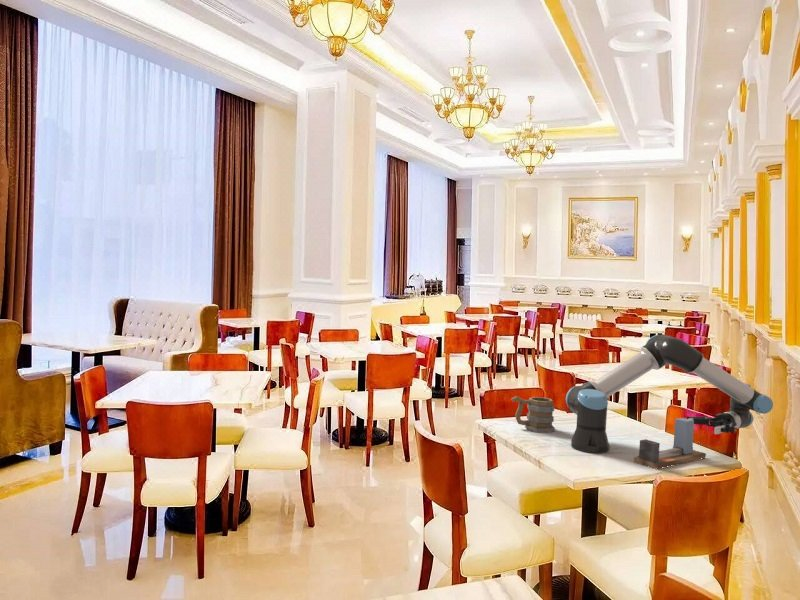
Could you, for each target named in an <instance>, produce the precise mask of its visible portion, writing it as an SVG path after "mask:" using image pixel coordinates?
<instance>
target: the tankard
mask: <svg viewBox="0 0 800 600" xmlns="http://www.w3.org/2000/svg"><path fill="white" fill-rule="evenodd" d="M510 399H511V401H512V403H515V402H518V407H517V409H516V412H515V421H516V422H517V424H518V425H522V426H524V428H525V429H526V431H530V432H533V433H538V434H539V433H542V434H543V433H544V434H549V433H553V432H555V429H556V427H555V426H554V425H553V423H554V420H555V417H554V416H553V412H555V406H554V400H553V399H552V398H549V397H543V396H542V397H541V396H531V397H529V399H523V398H521V397H519V396H518V395H516V396H514V397H512V398H510ZM524 404H525V405H527V409H528V412H527V413H526V419H525V420H522V419H521V414H522V412H523V410H524Z"/></svg>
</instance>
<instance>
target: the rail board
mask: <svg viewBox="0 0 800 600" xmlns="http://www.w3.org/2000/svg"><path fill="white" fill-rule="evenodd" d="M660 445H661V444H660V443H659V442H658V441H653V440H649V439H641V440H639V446H638V447H639V451H638V455H637V456H634V457H633V463H636V464H638V465H641V466H646V467H648V466H649V468H651V467H653V468H652V469H654V468H657V469H658V470H660V469H659V468H662V467H666V468H668V467H667V466H671V465H675V466H678V465H677V464H679V465H683V463H684V464H687V462H688V463H692V462H695V461H694V460H696V461H699V460H698V459H701V458H705V457H706V456H707V453H706V452H703V451H699V450H695V449H693V453H690V454H683V449H682V448H679V447H677V448H673V447H672V448H668V449H662V450H660ZM706 458H707V457H706ZM706 458H705V459H706ZM701 460H702V459H701ZM691 461H692V462H691ZM671 467H672V466H671ZM657 469H656V470H657ZM662 469H663V468H662Z"/></svg>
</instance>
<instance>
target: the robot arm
mask: <svg viewBox="0 0 800 600" xmlns="http://www.w3.org/2000/svg"><path fill="white" fill-rule="evenodd" d="M666 365H669V366H674V367H676V368H678V369H681V370H683V371H685V372H687V373H689V374H691V373H692V374H694V375H696V376H698V377H699V378H701V379H702V380H704V381H706V382H707V383H709V384H710V385H712V386H714V387H715V388H717V389H719V390H720V391H721V392H723V393H725V394H727V395H728V396H729V397H730V399H729V401H730V402H729V403H730V404H729V411H726V412H722V413H717V414H716V415H715V416H713V417H708V416H706V415H705V416H686V419H690V420H694V425H702V426H704V425H705V426H707V427H713V428H714V430H713V431H714V432H713V434H714V435H719V434H725V433H728V434H729V433H730V434H732V435H733V434H735V430H738V429H744V428H747V427H749V426H751V425H752V424H753V422H754V416H753V413H752V412H751V411H754V412H755V413H758V414H768V413H770V412H771V411H772V410H773V407H774V402H773V399H771V397H769V396H767V394H762V393H760V392H759V391H757V390H755V389H754V388H752V386H751V384H749V383H746V382H745V383H744V382H743V381H742V380H740V379H738V378H737V377H735V376H734V375H732V374H731V373H728V372H727V371H726V370H724V369H723V368H721V367H719V366H718V365H716V364H715V363H713V362H712V361H710V360H708V359H707V358H705V357H704V354H703V353H702V352H700V351H698V350H697V349H696V348H694V346H691V345H690V344H689V343H687V342H686V341H684V340H683V339H681V338H678V337H673V336H669V335H666V334H656V335H653V336H650V338H649V339H648V340H647V341H646V343H645V344H644V345H643V346H642V347H640V351H639V352H638V353H637V354H635V355H634V356H633V357H631V358H629V359H628V360H626V361H624V362H622V363H621V364H619V365H618V366H617V367H615V368H614V369H612V370H610V371H609V372H606V374H604V375H602V376H601V377H599V378H598V379H596V380H595V381H593V380H592V381H591V380H588V381H586V382H584V383H583V384H582V385H577V386H576V385H575V386H573V387H571V388H570V389H569V390H568V391H567V392H566V396H565V402H566V403H565V404H566V405H567V408H568V409H569V410H570V412H572V413H573V414H574V415H576V427H575V431H574V433H573V436H572V438H571V441H570V446H571V448H572V449H574V450H577V451H580V452H583V453H584V452H585V453H593V454H604V453H608V452H609V451H610V442H609V439H608V435H607V418H608V416H607V415H608V405H609V401H608V398H609V397H611V396H612V395H614V394H615V393H617V392H618V391H620V390H622V389H623V388H625V387H626V386H628V385H630V384H631V383H633V382H634V381H636V380H638V379H639V378H640V377H642V376H643V375H645V374H647V373H648V372H650V371H652V370H656V371H658V370H660V369H662V368H663V367H665V366H666ZM750 410H751V411H750ZM736 428H737V429H736Z"/></svg>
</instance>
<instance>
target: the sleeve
mask: <svg viewBox="0 0 800 600" xmlns="http://www.w3.org/2000/svg"><path fill="white" fill-rule="evenodd" d="M694 429H695V424H694V420H690V419H687V417H686V418H685V417H678V418H675V419H674V432H673V433H674V435H673V446H672V448H677V447H679V448H682V449H683V454H690V453H693V450H694V447H693V444H694V431H695V430H694Z"/></svg>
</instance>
